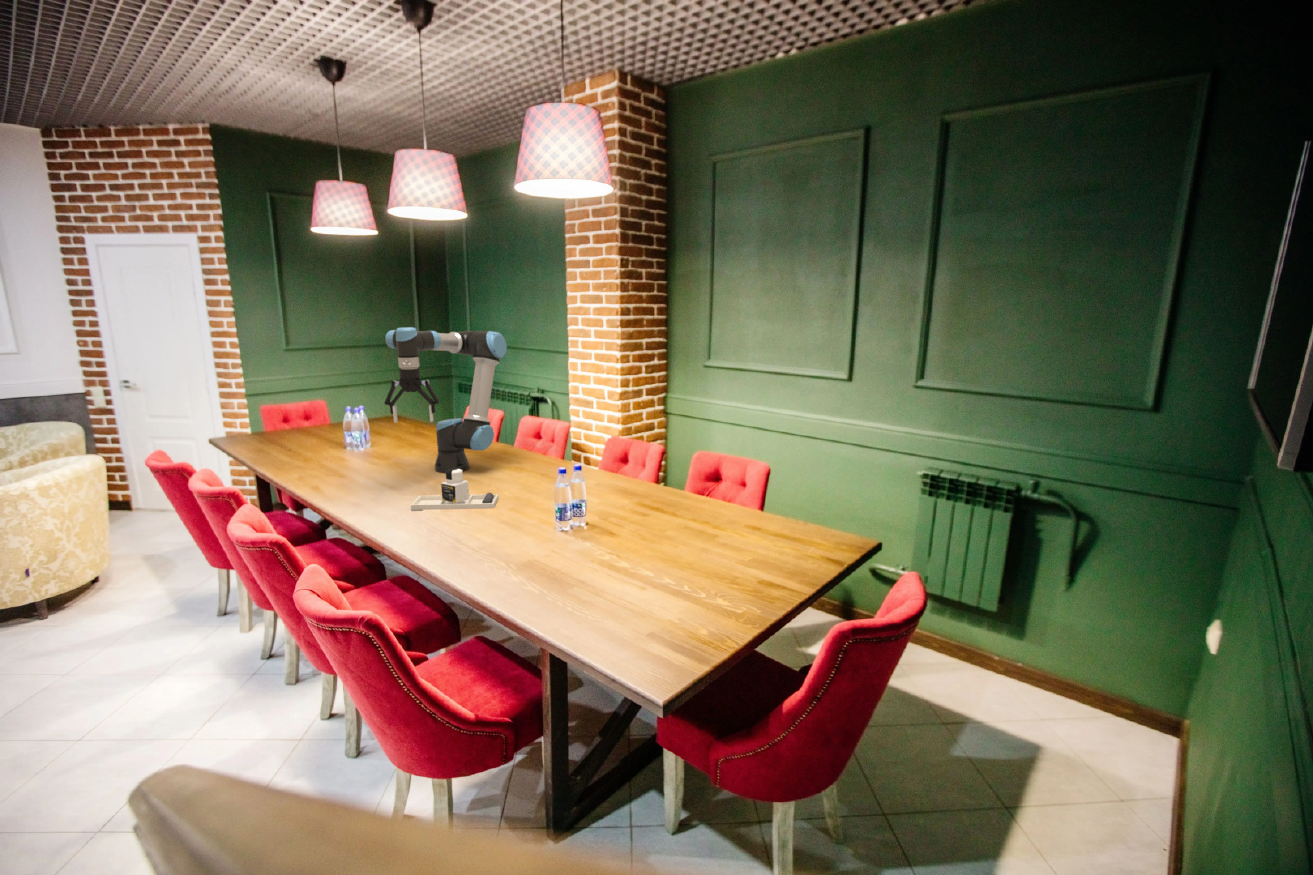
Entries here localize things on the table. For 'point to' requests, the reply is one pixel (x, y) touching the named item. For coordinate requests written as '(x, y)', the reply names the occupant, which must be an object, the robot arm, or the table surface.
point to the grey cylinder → (488, 498)
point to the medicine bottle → (454, 486)
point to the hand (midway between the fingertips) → (414, 421)
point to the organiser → (438, 503)
